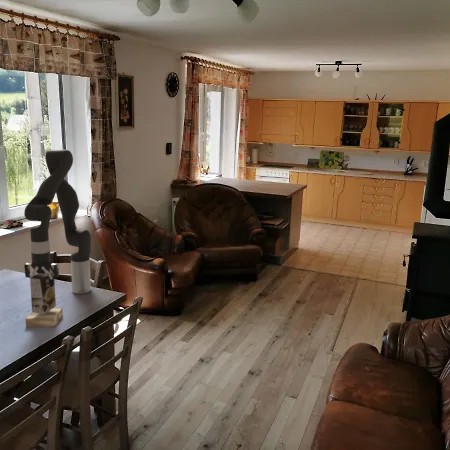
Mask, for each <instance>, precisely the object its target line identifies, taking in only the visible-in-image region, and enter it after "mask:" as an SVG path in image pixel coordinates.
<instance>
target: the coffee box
mask: <svg viewBox="0 0 450 450" xmlns="http://www.w3.org/2000/svg"><path fill="white" fill-rule="evenodd" d="M52 273H53V274H54V272H52ZM29 283H30V284H29V285H30V286H29V287H30V299H31V300H30V301H31V312H33V313H39V314H45V313H47V312H48V311H50V310H51V309H53V308H56V307H57V304H56V303H57V301H56V300H57V299H56V284H54V286H53V287H50V278H49V276H47V274H46V273H36V275H35V276H33V277H31V278H29Z"/></svg>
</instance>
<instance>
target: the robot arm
mask: <svg viewBox="0 0 450 450" xmlns="http://www.w3.org/2000/svg"><path fill="white" fill-rule="evenodd" d="M73 163H74V156H73V153H72V152H71V151H70V150H68V149H49V150H47V151H46V152H45V164H46V167H47V170H48V173H49V176H48V177H47V178H45V179H44V180H43V181H42V183H40V186H39V187H38V190H37V192H36V194H35V196H34V197H33V198H32V199H31V200H30V201H29V202H28V204H27V205H26V206H25V208H24V211H23V212H24V213H23V214H24V217H25V219H26V220H28V221H29V222H40V224H39V225H35V226H32V227H31V228H30V253H31V254H30V255H31V256H30V257H31V263H29V262H26V263H25V264H24V266H23V267H24V275H25V278H28V279H30V278H31V277H33V276H35V275H37V274H39V273H46V274H47V276H49V278H50V287H53V286H54V284H55V279H56V278H58V277H59V276H60V275H59V272H60V270H59V267H60V265H59V263H58V262H56V263H52V262H51V261H52V260H51V245H50V239H49V238H50V237H49V228H50V223H51V219H52V215H53V213H52V209H51V207H50V205H51V204H52V203H53V201H54V198H55V197H56V198H57V203H58V206H59V210H60V214H61V217H62V222H63V228H64V229H63V230H64V234H65V240H66V242H67V244H68V245H69V246H70V247H77V248H78V251H75V252H72V253H71V255H70V266H71V267H70V272H71V273H70V274H71V292H72V293H74V294H78V295H82V294H87V293H89V292H90V291H91V290H92V289H91V286H92V285H91V264H90V263H91V262H90V261H91V259H90V255H91V250H92V249H91V248H92V246H91V245H92V243H91V242H92V235H91V233H90V231H89V230H88V229H85V228H78V227H77V225H76V216H77V213H78V211H79V208H80V202H79V197H78V194H77V191H76V189H74V187H73V186H72V185H71V184H69V182H68V181H67V180H66V179H65V178H66V177H67V174H68V173H69V172H70V170H71V168H72V166H73ZM31 268H32V269H33V271H32V273H31ZM51 268H52V269H53V271H52V269H51ZM53 273H54V274H53ZM55 285H56V284H55Z"/></svg>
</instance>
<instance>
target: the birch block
mask: <svg viewBox="0 0 450 450" xmlns="http://www.w3.org/2000/svg"><path fill="white" fill-rule="evenodd" d="M63 313H64V312H63V307H54V308H53V309H51V310H50V311H48V312H47V313H45V314H39V313H33V312H32V311H31V312H30V313H29V314H28V315H27V317H25V327H27V328H28V327H29V328H32V327H33V328H55V327H56V325H57V324H58V322H59V321H60V319H62V317H63V315H64V314H63Z"/></svg>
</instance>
